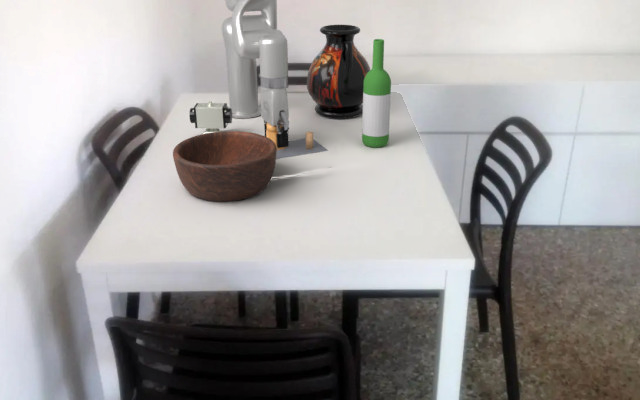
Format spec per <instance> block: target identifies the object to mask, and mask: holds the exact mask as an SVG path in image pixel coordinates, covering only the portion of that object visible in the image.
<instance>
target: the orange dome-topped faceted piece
mask: <svg viewBox="0 0 640 400" xmlns="http://www.w3.org/2000/svg"><path fill="white" fill-rule="evenodd" d="M278 123H280V122H278ZM281 127H282V126H280V129H281ZM277 134H278V131H277V128H276V125H275V126H271V125H270V124H269V123H267V130H266V137H267V138H269V139H271V140H272V141H273V142H274V143H275V144H276V147H277ZM284 148H285V147H282V148H278V147H277V150H280V149H284Z"/></svg>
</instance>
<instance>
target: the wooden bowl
mask: <svg viewBox="0 0 640 400" xmlns="http://www.w3.org/2000/svg"><path fill="white" fill-rule="evenodd" d="M276 153H277V147H276V144H275V143H274V142H273V141H272V140H271V139H269V138H267V137H265V135H263V134H259V133H254V132H249V131H240V130H239V131H238V130H237V131H236V130H234V131H233V130H231V131H230V130H229V131H227V130H225V131H221V132H213V133H206V134H203V133H202V134H199V135H194V136H191V137H189V138H186V139H184V140H181V141H180V142H179V143H177V145H175V146H174V148H173V150H172V158H173V162H174V166H175V169H176V172H177V173H176V174H177V175H178V176H177V177H178V178H179V180H180V183H181V184H182V186H183V187H184V189H186V191H187V192H188V193H189V194H190V195H192V196H194V197H196V198H197V199H198V198H199V199H201V200H204V201H210V202H234V201H240V200H245V199H248V198H252V197H255V196H257V195H259V194H260V193H262V192H263V191H264V190H266V188H267V187H268V185H269V184H270V182H271V180H272V179H273V176H274V172H275V168H276V162H277V161H276V160H277V159H276Z"/></svg>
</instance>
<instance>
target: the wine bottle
mask: <svg viewBox="0 0 640 400" xmlns="http://www.w3.org/2000/svg"><path fill="white" fill-rule="evenodd" d="M372 43H373V44H372V45H373V46H372V47H373V49H372V65H371V66H372V67H371V68H370V71H369V72H368V73H367V74H366V76H365V78H364V87H363V103H362V106H363V113H362V120H361V122H362V124H361V125H362V126H361V127H362V128H361V132H362V133H361V141H362V143H363V145H364V146H366V147H369V148H382V147H385V146H387V145H388V144H389V138H390V123H391V122H390V119H391V118H390V117H391V116H390V115H391V99H392V98H391V97H392V96H391V95H392V94H391V93H392V80H391V77H390V74H389V73H388V72H387V71H386V70H385V69H384V60H385V59H384V55H385V40H384V39H382V38H376V39H373V42H372Z"/></svg>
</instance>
